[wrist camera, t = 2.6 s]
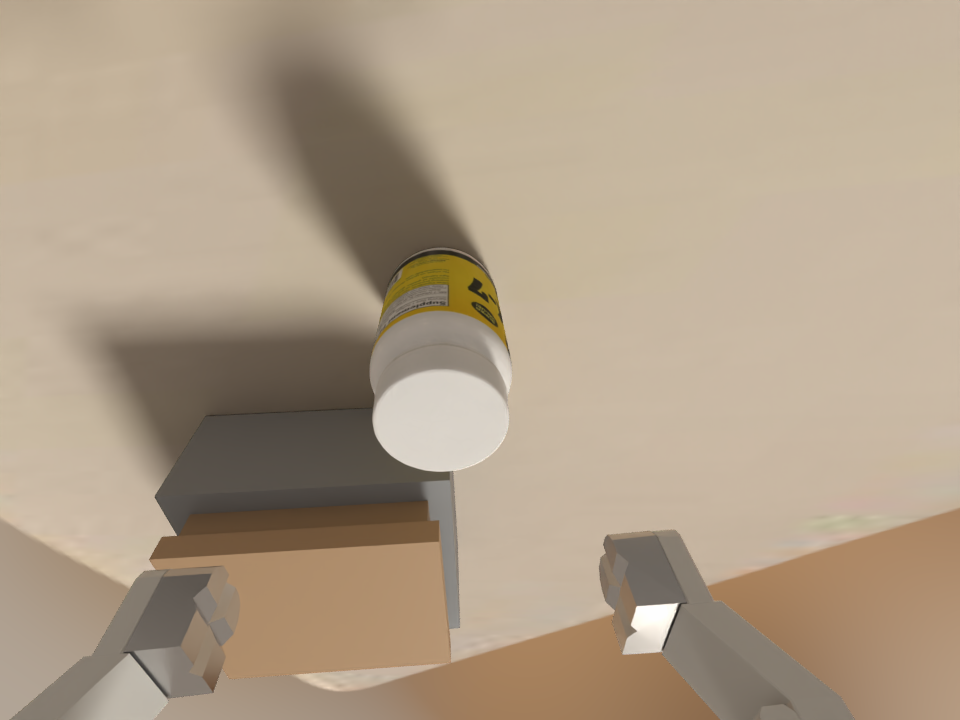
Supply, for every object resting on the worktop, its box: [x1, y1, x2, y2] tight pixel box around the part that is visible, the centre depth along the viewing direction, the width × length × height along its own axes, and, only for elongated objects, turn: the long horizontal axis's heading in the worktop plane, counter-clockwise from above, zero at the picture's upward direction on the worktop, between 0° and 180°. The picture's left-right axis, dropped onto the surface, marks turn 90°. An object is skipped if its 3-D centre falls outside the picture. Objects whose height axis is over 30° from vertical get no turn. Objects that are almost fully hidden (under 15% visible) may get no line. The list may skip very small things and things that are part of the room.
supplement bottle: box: [369, 248, 512, 472], centre depth 17 cm, size 5×5×8 cm
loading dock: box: [149, 408, 460, 679], centre depth 24 cm, size 12×12×7 cm
